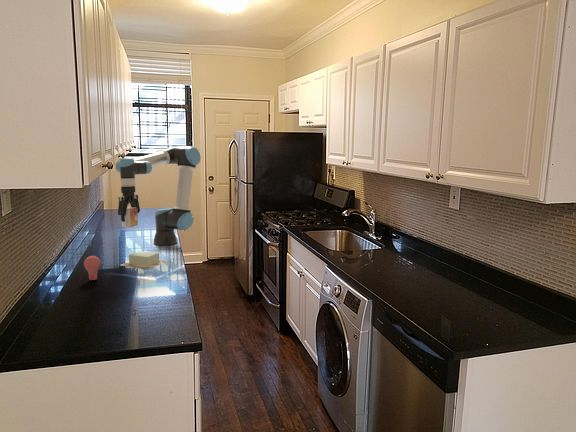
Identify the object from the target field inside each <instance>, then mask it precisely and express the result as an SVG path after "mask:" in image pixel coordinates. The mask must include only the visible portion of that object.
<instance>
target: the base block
mask: <svg viewBox="0 0 576 432" xmlns="http://www.w3.org/2000/svg"><path fill="white" fill-rule="evenodd" d="M159 260H160V252H155V251H145V250H140V251H137V252H134V253H130V254H128V262H129V264H133V265H142V266H150V265H152V264H155V263H158V262H159Z"/></svg>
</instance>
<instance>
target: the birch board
mask: <svg viewBox="0 0 576 432" xmlns="http://www.w3.org/2000/svg"><path fill="white" fill-rule="evenodd" d="M168 261H169V260H166V259H159V262H158V263H155V264H152V265H150V266H142V265H133V264H129V261H128V262H124V263H122V264H120V265H119V267H120V266H123V267H131V268H136V269H137V268H138V269H140V268H141V269H146V270H147V269H148V270H149V269H151V268H153V267H156V266H158V265H161V264H163V263H166V262H168Z"/></svg>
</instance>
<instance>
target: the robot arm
mask: <svg viewBox="0 0 576 432" xmlns="http://www.w3.org/2000/svg"><path fill="white" fill-rule="evenodd" d="M200 153H201V152H200V151H199V149H198V148H197V147H194V146H187V145H186V146H178V145H177V146H173V147H168V148H165V149H162V150H160V151H159V152H156V153H151V154H147V155H143V156H138V157H134V158H133V157H121V158H120V159H119V160H118V161H117V162H116V163H115V170H116V172H117V173H119V175H120V185H121V186H120V193H121V194H122V196H118V211H117V215H119V216H120V221H121V227H122V228H128V227H127V218H126V216H125V214H126V209H127V208H128V207H129V206H128V205H130V207H137V218H138V215H139V213H140V211H141V209H140V208H141V207H140V203H139V195H138V194H135V193H136V186H135V185H136V175H147V174H150V173H152V170H153V167H156V166H160V165H176V166H177V168H178V169H179V171H178V179H177V189H176V197H175V204H174V206H173V207H169V208H160V209H156V211H155V217H154V219H155V235H154V238H153V245H156V246H171V244H172V245H176V244H177V243H178V238H177V235H176V232H175V230H178V231H188V230H190V228H192V226H193V223H194V215H193V214H192V213H191V211H192V209H191V208H190V202H191V201H190V199H191V189H192V182H193V173H194V171H195V170H196V169H197V168H196V167H197V165H199V163H201V158H202V157H201V154H200ZM175 243H176V244H175Z"/></svg>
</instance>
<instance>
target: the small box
mask: <svg viewBox="0 0 576 432" xmlns="http://www.w3.org/2000/svg"><path fill="white" fill-rule="evenodd" d="M137 214H138V213H137V207H131V206H127V209H126V214H125V216H126V218H127V227H126V228H133V227H137V226H139V225H138V220H139V219H138V218H137Z"/></svg>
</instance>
